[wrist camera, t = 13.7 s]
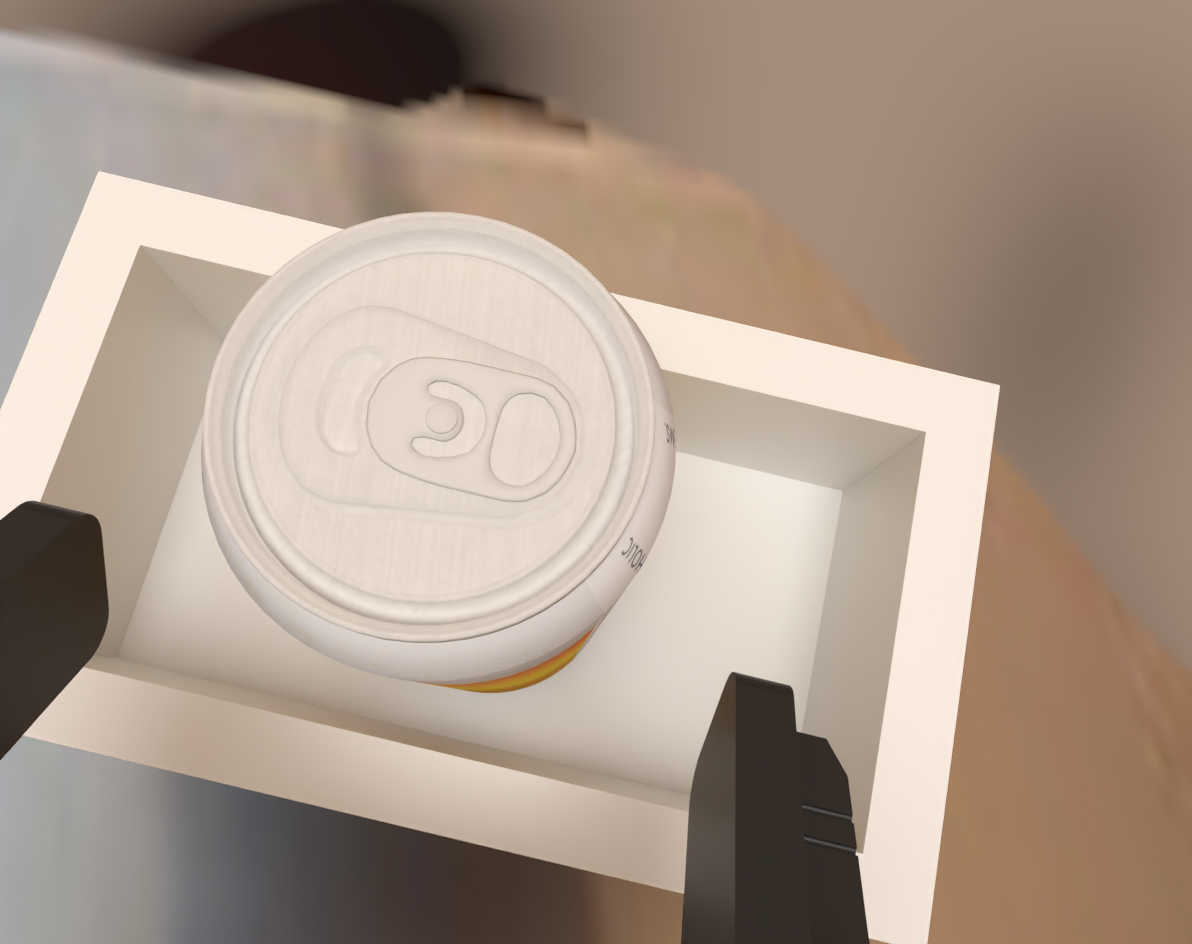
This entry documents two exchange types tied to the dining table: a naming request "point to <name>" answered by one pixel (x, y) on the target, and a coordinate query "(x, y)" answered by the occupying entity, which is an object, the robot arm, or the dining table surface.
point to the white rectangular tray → (617, 648)
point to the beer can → (437, 451)
